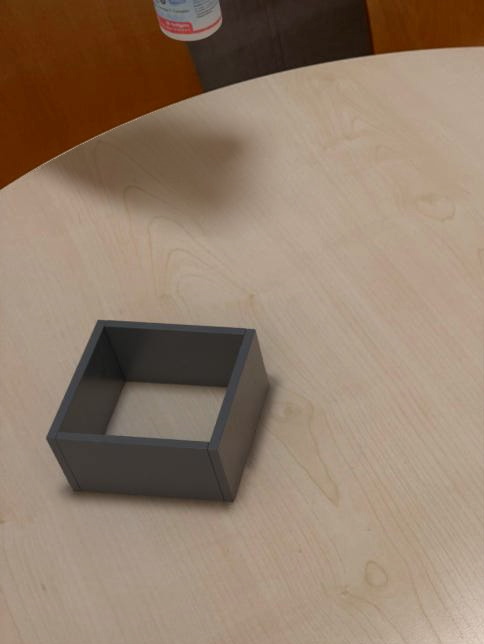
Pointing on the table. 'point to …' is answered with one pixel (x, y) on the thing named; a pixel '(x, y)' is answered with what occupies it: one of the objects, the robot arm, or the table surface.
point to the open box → (169, 368)
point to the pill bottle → (188, 18)
